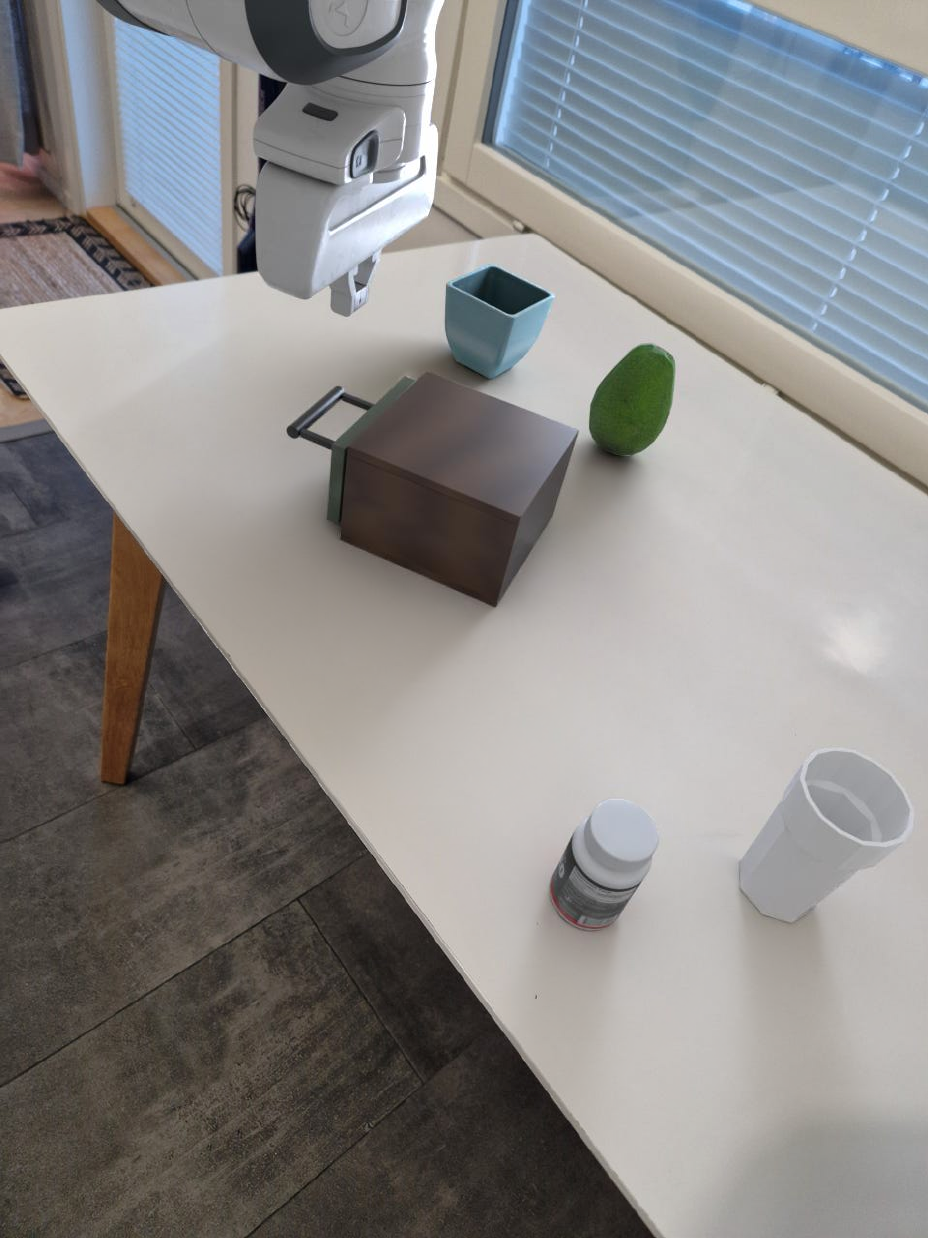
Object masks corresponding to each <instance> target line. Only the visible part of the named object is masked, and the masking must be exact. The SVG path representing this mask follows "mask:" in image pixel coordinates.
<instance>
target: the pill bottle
mask: <svg viewBox="0 0 928 1238" xmlns="http://www.w3.org/2000/svg"><path fill="white" fill-rule="evenodd" d="M659 840H660V832H659V829H658V826H657V823H656V821H655V819H654V818H653V816H652V815H651V814H650V813H649V812H648V811H647V810H646V809H645V808H643V807H642V806H641V805H640V804H637V803H636V802H634V801H632V800H628V799H623V798H610V799H607V800H603V801H602V802H600V803H598V804H597V805H596V806H595V808H594V809H593V810H592V812H591V814H590V815H589V816H586V817H585V818H584V819H582V820H581V821H580V822H579V823H578V825H577V826H576V828H575V829H574V831H573V832H572V835H571V837H570V838H569V841H568V843H567V845H566V846H565V847H566V848H565V849H564V850H563V853H562V855H561V857H560V859H559V861H558V863H557V864H556V867H555V869H554V870H553V873H552V875H551V878H550V881H549V895H550V900H551V902H552V904H553V906H554V908H555V910H556V911H557V913H559V915H560V916H561V917H562V919H563V920H565V921H567V923H568V924H570V925H572V926H573V927H575V928H578V929H581V930H585V931H600V930H604V929H606V928H609V926H612V924H614V923H615V922H616V921H617V920H618V918H619V917H620V915H621V914H622V912H623V911H624V909H625V908H626V906H627V905H628V903H629V902H630V900H631V899H632V898H633V897H634V894H635V893H636V891H637V890H638V888H639V887H640V886H641V884H642V883H643V881H644V880H645V879H646V876H647V875H648V873H649V872H650V870H651V866H652V862H653V856H654V854H655V852H656V850H657V849H658V846H659V842H660V841H659Z"/></svg>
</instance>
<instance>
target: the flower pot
mask: <svg viewBox="0 0 928 1238" xmlns="http://www.w3.org/2000/svg"><path fill="white" fill-rule="evenodd" d="M555 297H556V295H555V293H554V292H551V291H549V290H547V289H545V288H543V287H541V286H540V285H537V284H535V283H533V282H531V281H529V280H527V279H525V278H523V277H521V276H520V275H517V274H515V273H512V272H511V271H509V270H507V269H506V268H505V269H504V267H501V266H498V265H496V264H494V263H489V264H486V265H484V266H481V267H479V268H477V269H475V270H473V271H471V272H469V273H466V274H463V275H461V276H459V277H457V278H454V279H452V280H450V281H448V282H446V284H445V298H444V299H445V300H444V331H445V337H446V341H447V344H448V347H449V349H450V351H451V353H452V355H453V358H454V359H455V361H456V362H458V363H459V364H461V365H463V366H465V367H467V368H469V369H470V370H473V371H474V372H476V373H478V374H480V375H482V376H483V377H485V378H487V379H489V380H493V379H495V378H496V377H498V376H500V375H501V374H503V373H505V372H506V371H508V370H510V369H512V368H513V367H515V366H516V365H517V364H518V363H519V362H520V361H521V360H522V359H523V358H524V357H525V356H526V355H527V354H528V352H529V351H530V350H531V349H532V347H533V346H534V345H535V343H536V342H537V340H538V339H539V336H540V334H541V332H542V330H543V327H544V325H545V322H546V320H547V317H548V314H549V312H550V310H551V308H552V305H553V303H554V299H555Z"/></svg>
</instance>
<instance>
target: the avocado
mask: <svg viewBox="0 0 928 1238" xmlns="http://www.w3.org/2000/svg"><path fill="white" fill-rule="evenodd" d="M675 379H676V360H675V358H674V356H673V355H672V354H671V353H669V352H668V351H667V350H665V349H664V348H663V347H661V346H658V344H655V343H654V342H648V343H645V342H644V343H640V344H638V345H636V346H635V347H633V348H631V349H630V350H629V352H627V353H626V354H625V355H624V356H623V357H622V358H621V359H620V360H619V361H618V362H617V363H615V365H614V366H613V367H612V368H611V370H610V371H609V372H608V373H607V374H606V376H605V377H604V378H603V379H602V381H600V383H599V385H598V386H597V387H596V390H595V392H594V394H593V397H592V399H591V402H590V404H589V417H588V430H589V434H590V436H591V438H592V440H593V441H594V442H595V443H596V444H597V445H598V446H599V447H600V448H601V449H603V451H605V452H608V453H610V454H613V455H616V456H626V457H627V456H629V457H630V456H631V457H632V456H634V455H636V454H639V453H641V452H643V451H644V450H646V449H647V448H649V447H650V446H651V445H652V444H653V443H655V442H656V440H657V439H658V437H659V436H660V434H661V433H662V432H663V430H664V429H665V427H666V424H667V422H668V418H669V415H670V412H671V410H672V406H673V401H674V391H675V382H676V381H675Z"/></svg>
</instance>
